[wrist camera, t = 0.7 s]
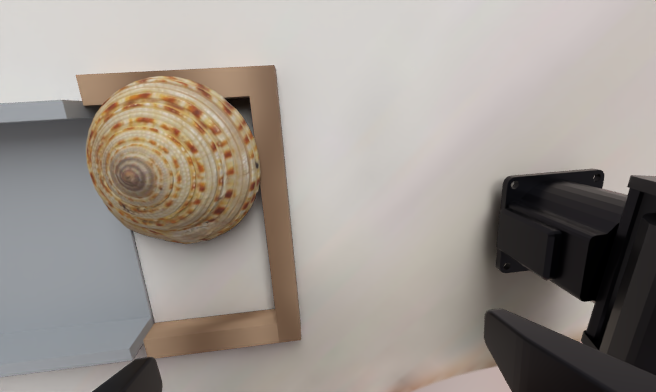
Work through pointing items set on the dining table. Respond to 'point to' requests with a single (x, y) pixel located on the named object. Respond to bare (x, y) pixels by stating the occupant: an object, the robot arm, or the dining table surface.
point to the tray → (62, 249)
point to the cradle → (273, 184)
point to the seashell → (173, 160)
